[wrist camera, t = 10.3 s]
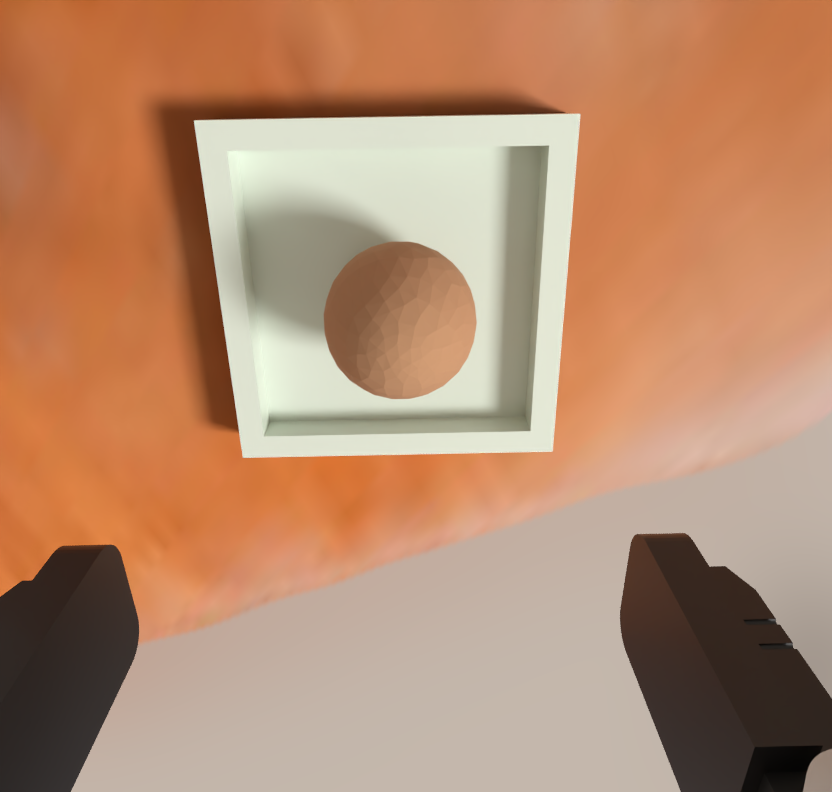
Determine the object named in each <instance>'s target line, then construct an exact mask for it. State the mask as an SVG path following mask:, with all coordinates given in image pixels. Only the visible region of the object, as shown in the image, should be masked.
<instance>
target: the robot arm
mask: <svg viewBox="0 0 832 792" xmlns="http://www.w3.org/2000/svg"><path fill="white" fill-rule="evenodd" d="M620 624H621V633H622V639H623V643H624V647H625V650H626V653H627V655H628V658H629V661H630V663H631V666H632V668H633V670H634V673H635V676H636V678H637V681H638V683H639V686H640V688H641V691H642V693H643V696H644V699H645V701H646V704H647V706H648V709H649V711H650V714H651V717H652V719H653V722H654V724H655V726H656V729H657V732H658V734H659V737H660V739H661V742H662V745H663V747H664V750H665V752H666V755H667V757H668V760H669V762H670V765H671V767H672V770H673V773H674V775H675V777H676V780H677V783H678V785H679V788H680V790H681V792H832V699H831V697H830V696H829V694H828V693H827V691H826V690H825V688H824V687H823V686H822V684H821V683H820V681H819V680H818V678H817V677H816V676H815V674H814V673H813V672H812V670H811V668H810V667H809V666H808V664H807V663H806V661H805V660H804V658H803V657H802V656H801V654H800V653H799V651H798V650H797V649H794V648H793V645H792V644H793V643H792V641H791V640H790V638H789V637H788V636H787V634H786V633H785V631H784V630H783V629H782V627H781V626H780V625H777V624H776V619H775V617H774V616H773V614H772V613H771V611H770V610H769V609H768V607H767V606H766V604H765V603H764V601H763V600H762V598H761V597H760V596H759V594H758V593H757V591H756V590H755V589H754V588H752V587H751V586H750V585H748V584H747V583H746V582H745V581H743V580H742V579H741V578H739V577H738V576H737V575H735V574H734V573H733V572H731V571H730V570H729V569H728V568H727V567H725V566H721V567H709V565H708V564H707V562H706V561H705V559H704V558H703V556H702V554H701V553H700V551H699V550H698V548H697V547H696V545H695V543H694V542H693V540H692V539H691V538H690V537H689V536H688V535H687V534H685V533H674V534H637V535H635V536H634V537H633V539H632V542H631V546H630V552H629V559H628V565H627V571H626V577H625V583H624V590H623V596H622V603H621V610H620ZM138 639H139V622H138V616H137V613H136V609H135V605H134V601H133V598H132V594H131V590H130V587H129V583H128V579H127V575H126V572H125V568H124V564H123V561H122V557H121V554H120V552H119V550H118V549H117V547H115V546H114V545H79V546H62V547H59V548H58V549H57V550H56V551H55V552H54V553H53V554H52V555H51V557H50V558H49V559H48V561H47V562H46V563H45V565H44V566H43V567H42V569H41V570H40V571H39V572H38V574H37V575H36V576H35V578H34V579H33V580H32V581H21V582H20V583H18V584H17V585H16V586H14V587H13V588H12V589H10V590H9V591H8V592H6V593H5V594H4V595H2V596H1V597H0V792H71V790H72V788H73V786H74V784H75V782H76V779H77V777H78V775H79V773H80V771H81V769H82V767H83V765H84V763H85V761H86V758H87V756H88V754H89V752H90V750H91V748H92V746H93V744H94V742H95V739H96V737H97V735H98V733H99V731H100V729H101V727H102V725H103V723H104V721H105V719H106V717H107V714H108V712H109V710H110V708H111V706H112V704H113V702H114V700H115V697H116V696H117V693H118V691H119V689H120V687H121V685H122V683H123V681H124V679H125V677H126V675H127V673H128V670H129V668H130V666H131V664H132V662H133V660H134V657H135V654H136V650H137V645H138Z"/></svg>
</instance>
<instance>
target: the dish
mask: <svg viewBox="0 0 832 792" xmlns="http://www.w3.org/2000/svg"><path fill="white" fill-rule="evenodd" d="M194 125H195V132H196V139H197V146H198V153H199V160H200V166H201V173H202V180H203V187H204V194H205V201H206V208H207V215H208V221H209V228H210V235H211V242H212V249H213V256H214V263H215V269H216V276H217V283H218V290H219V297H220V304H221V311H222V318H223V324H224V331H225V338H226V345H227V352H228V359H229V366H230V372H231V379H232V386H233V393H234V400H235V407H236V414H237V420H238V427H239V434H240V441H241V448H242V455H243V458H254V457H304V456H354V455H404V454H454V453H504V452H553V440H554V428H555V416H556V404H557V392H558V380H559V368H560V355H561V343H562V331H563V319H564V307H565V295H566V283H567V271H568V259H569V247H570V234H571V222H572V210H573V198H574V186H575V174H576V162H577V150H578V138H579V126H580V114H575V113H544V114H486V115H427V116H369V117H311V118H252V119H206V120H194ZM387 242H414V243H419V244H421V245H424V246H426V247H429V248H431V249H433V250H436V251H438V252H439V253H441V254H442V255H443V256H445V257H446V258H447V259H449V260H450V261H451V262H452V263H453V264H454V265H455V266H456V267H457V268H458V270H459V271H460V272H461V273H462V274H463V276H464V278H465V280H466V282H467V283H468V285H469V287H470V289H471V292H472V296H473V300H474V303H475V311H476V320H477V324H476V331H475V337H474V342H473V345H472V348H471V351H470V353H469V356H468V358H467V360H466V361H465V363H464V364H463V366H462V368H461V369H460V371H459V372H458V373H457V374H456V375H455V376H454V377H453V378H452V379H451V380H449V381H448V382H447V383H446V384H445V385H444V386H442V387H440V388H439V389H437V390H435V391H433V392H431V393H429V394H427V395H423V396H420V397H415V398H411V399H390V398H385V397H381V396H376V395H373V394H371V393H369V392H367V391H365V390H364V389H362V388H360V387H359V386H357V385H356V384H354V383H353V382H351V381H350V380H349V379H348V378H347V377H346V376H345V374H344V373H343V372H342V371H341V370H340V369H339V368H338V367H337V365H336V363H335V361H334V359H333V357H332V355H331V353H330V351H329V348H328V344H327V341H326V337H325V331H324V310H325V305H326V300H327V297H328V294H329V291H330V289H331V286H332V283H333V281H334V280H335V278H336V277H337V276H338V274H339V273H340V271H341V270H342V269H343V267H344V266H345V265H346V264H347V263H348V262H349V261H350V260H351V259H353V258H354V257H355V256H356V255H357V254H359V253H361V252H362V251H364V250H366V249H368V248H370V247H372V246H376V245H379V244H383V243H387Z"/></svg>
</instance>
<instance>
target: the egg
mask: <svg viewBox="0 0 832 792" xmlns="http://www.w3.org/2000/svg"><path fill="white" fill-rule="evenodd" d="M476 324H477V320H476V311H475V303H474V300H473V296H472V292H471V289H470V287H469V285H468V283H467V282H466V280H465V278H464V276H463V274H462V273H461V272H460V271H459V270H458V268H457V267H456V266H455V265H454V264H453V263H452V262H451V261H450V260H449V259H447V258H446V257H445V256H443V255H442V254H441V253H439V252H438V251H436V250H433V249H431V248H429V247H426V246H424V245H421V244H419V243H414V242H387V243H383V244H379V245H376V246H372V247H370V248H368V249H366V250H364V251H362V252H361V253H359V254H357V255H356V256H355V257H354V258H353V259H351V260H350V261H349V262H348V263H347V264H346V265H345V266H344V267H343V269H342V270H341V271H340V273H339V274H338V276H337V277H336V278H335V280H334V281H333V283H332V286H331V289H330V291H329V294H328V297H327V300H326V305H325V310H324V331H325V337H326V341H327V344H328V348H329V351H330V353H331V355H332V357H333V359H334V361H335V363H336V365H337V367H338V368H339V369H340V370H341V371H342V372H343V373H344V374H345V376H346V377H347V378H348V379H349V380H350V381H351V382H353V383H354V384H356V385H357V386H359V387H360V388H362V389H364V390H365V391H367V392H369V393H371V394H373V395H376V396H381V397H385V398H390V399H411V398H415V397H420V396H423V395H427V394H429V393H431V392H433V391H435V390H437V389H439V388H440V387H442V386H444V385H445V384H446V383H447V382H448V381H449V380H451V379H452V378H453V377H454V376H455V375H456V374H457V373H458V372H459V371H460V369H461V368H462V366H463V364H464V363H465V361H466V360H467V358H468V356H469V353H470V351H471V348H472V345H473V342H474V337H475V331H476Z"/></svg>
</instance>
